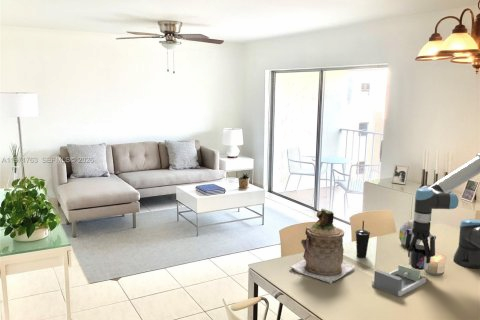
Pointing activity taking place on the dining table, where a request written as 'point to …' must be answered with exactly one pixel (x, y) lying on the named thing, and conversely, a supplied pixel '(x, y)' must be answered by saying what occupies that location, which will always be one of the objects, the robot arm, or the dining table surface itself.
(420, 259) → the supplement container
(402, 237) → the decorative egg
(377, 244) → the dining table surface
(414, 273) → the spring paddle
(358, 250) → the drinking cup
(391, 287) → the pusher lane
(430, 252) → the robot arm
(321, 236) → the cookie jar
